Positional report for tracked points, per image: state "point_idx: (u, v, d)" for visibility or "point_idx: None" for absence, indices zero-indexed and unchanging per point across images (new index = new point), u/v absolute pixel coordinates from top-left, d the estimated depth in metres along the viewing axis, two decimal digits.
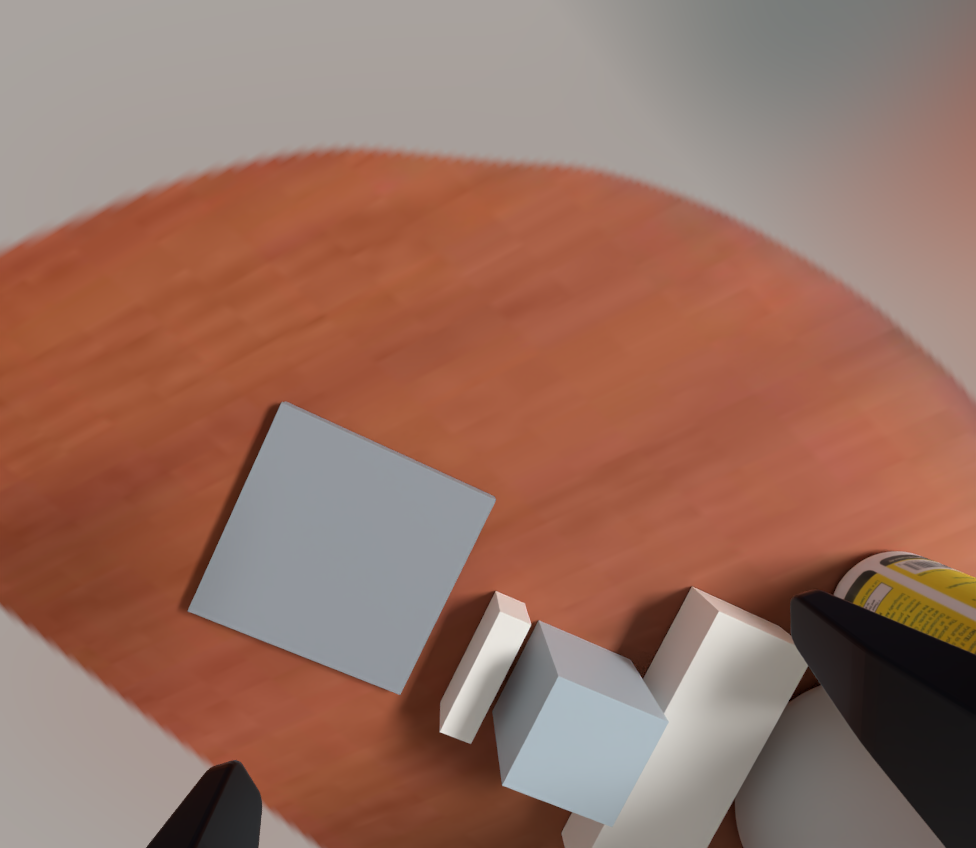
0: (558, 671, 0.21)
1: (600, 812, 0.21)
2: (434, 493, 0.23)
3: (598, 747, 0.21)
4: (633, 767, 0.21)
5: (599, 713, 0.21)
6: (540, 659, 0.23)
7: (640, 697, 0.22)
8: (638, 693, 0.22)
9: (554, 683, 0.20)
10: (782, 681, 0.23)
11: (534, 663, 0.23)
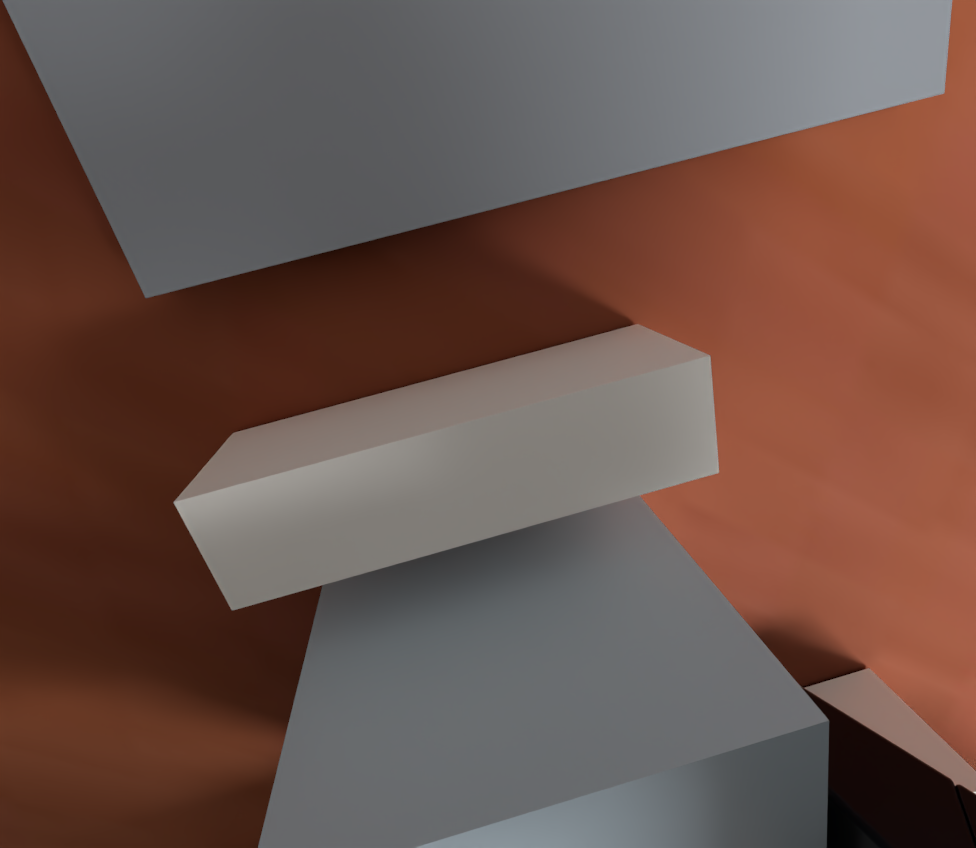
0: (800, 690, 0.05)
1: None
2: None
3: None
4: None
5: None
6: (641, 578, 0.06)
7: None
8: None
9: (791, 729, 0.04)
10: None
11: (597, 571, 0.07)
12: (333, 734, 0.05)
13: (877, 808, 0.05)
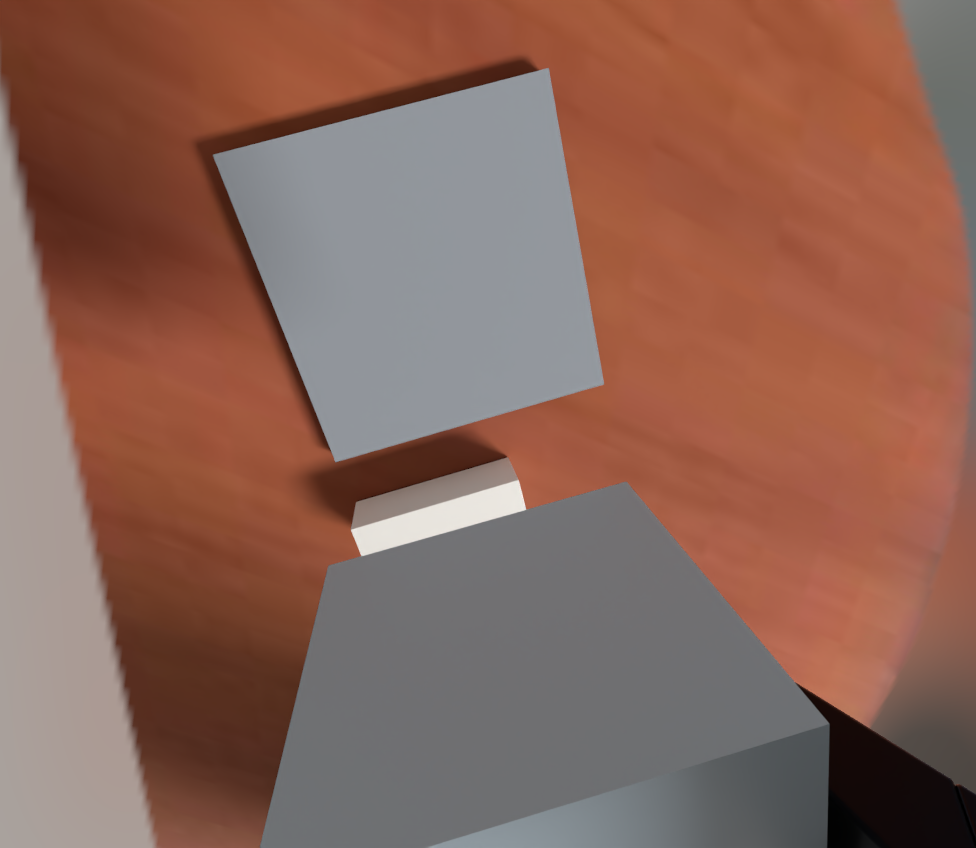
0: (799, 694, 0.05)
1: None
2: (567, 321, 0.18)
3: None
4: None
5: None
6: (641, 581, 0.06)
7: None
8: None
9: (793, 732, 0.04)
10: None
11: (598, 574, 0.07)
12: (334, 737, 0.05)
13: (877, 808, 0.05)
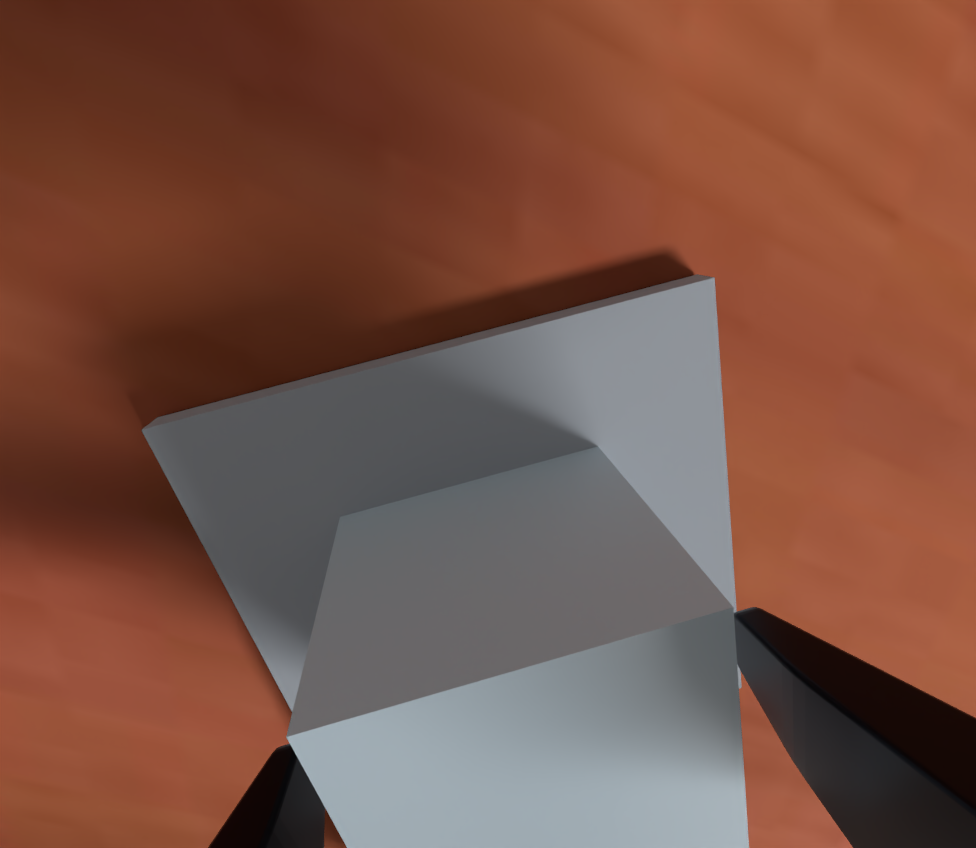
0: (716, 589, 0.06)
1: None
2: None
3: (592, 820, 0.07)
4: None
5: (684, 760, 0.07)
6: (602, 519, 0.08)
7: None
8: None
9: (704, 613, 0.06)
10: None
11: (567, 514, 0.08)
12: (349, 634, 0.07)
13: (969, 779, 0.05)
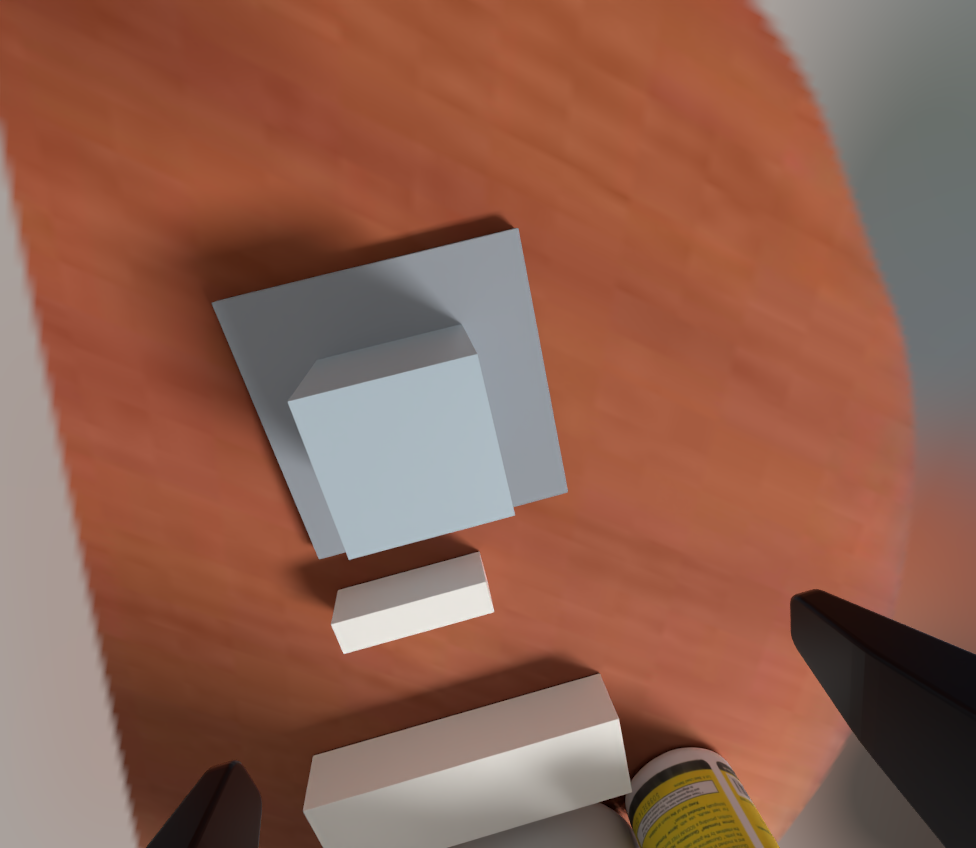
0: (476, 353, 0.14)
1: (354, 534, 0.15)
2: (534, 439, 0.20)
3: (428, 469, 0.15)
4: (435, 524, 0.15)
5: (468, 437, 0.14)
6: (445, 342, 0.16)
7: None
8: None
9: (465, 356, 0.14)
10: (595, 792, 0.24)
11: (430, 343, 0.16)
12: (316, 382, 0.15)
13: None
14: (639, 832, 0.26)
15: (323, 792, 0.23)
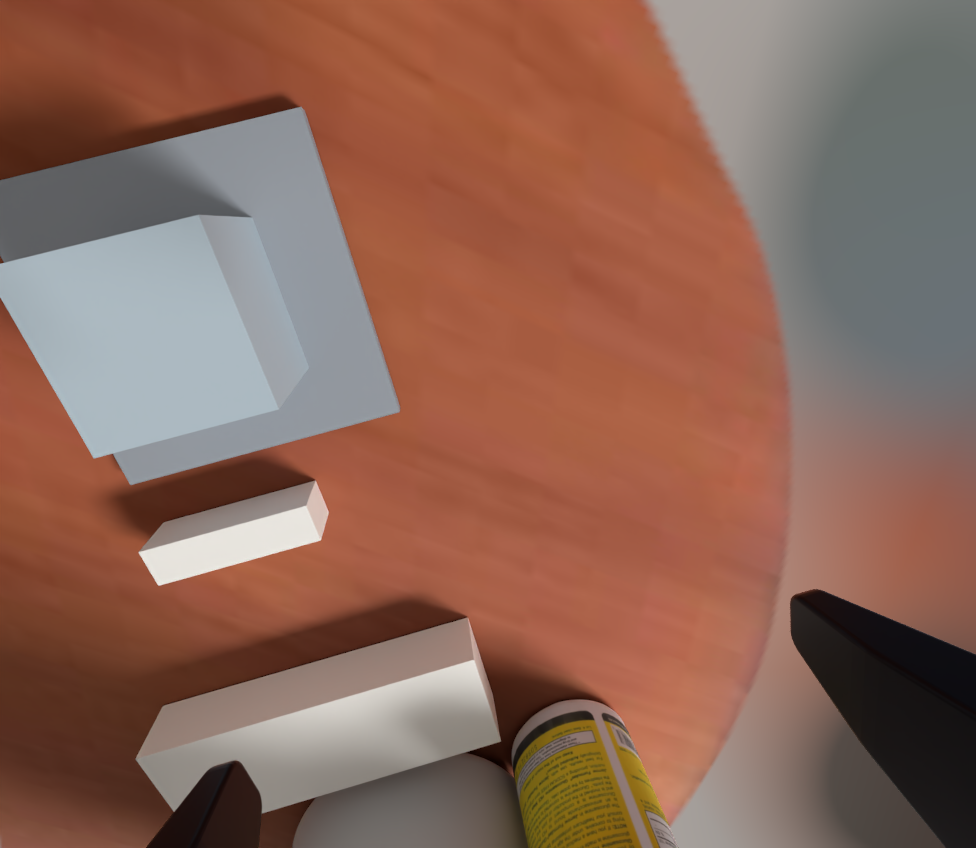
0: (205, 217, 0.13)
1: (94, 428, 0.14)
2: (354, 351, 0.18)
3: (166, 353, 0.13)
4: (187, 417, 0.14)
5: (206, 315, 0.13)
6: None
7: (275, 369, 0.15)
8: (278, 367, 0.15)
9: (185, 218, 0.12)
10: (460, 741, 0.23)
11: None
12: None
13: None
14: (517, 787, 0.25)
15: (161, 740, 0.21)
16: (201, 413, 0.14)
